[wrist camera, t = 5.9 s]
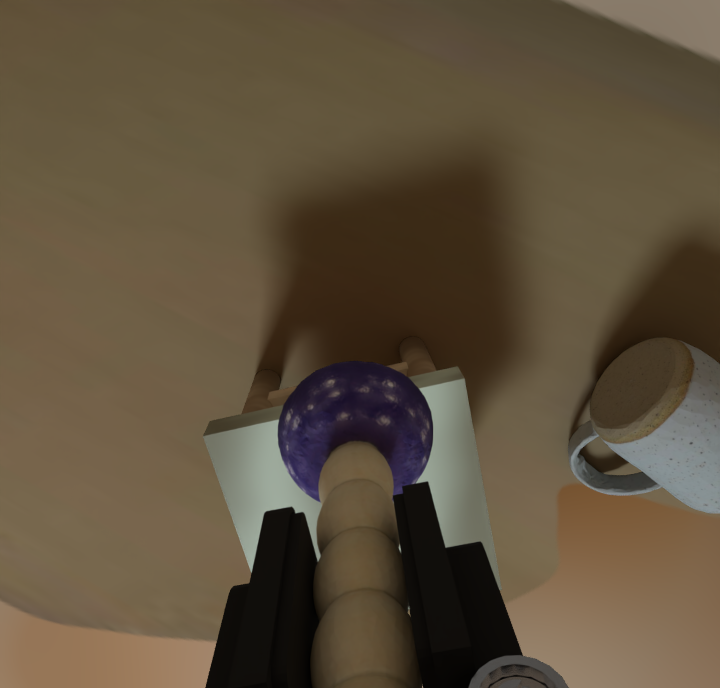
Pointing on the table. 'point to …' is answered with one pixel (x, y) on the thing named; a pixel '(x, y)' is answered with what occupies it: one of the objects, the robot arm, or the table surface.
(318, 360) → the table surface
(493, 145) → the table surface
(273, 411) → the footstool
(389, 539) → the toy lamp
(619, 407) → the ceramic mug
